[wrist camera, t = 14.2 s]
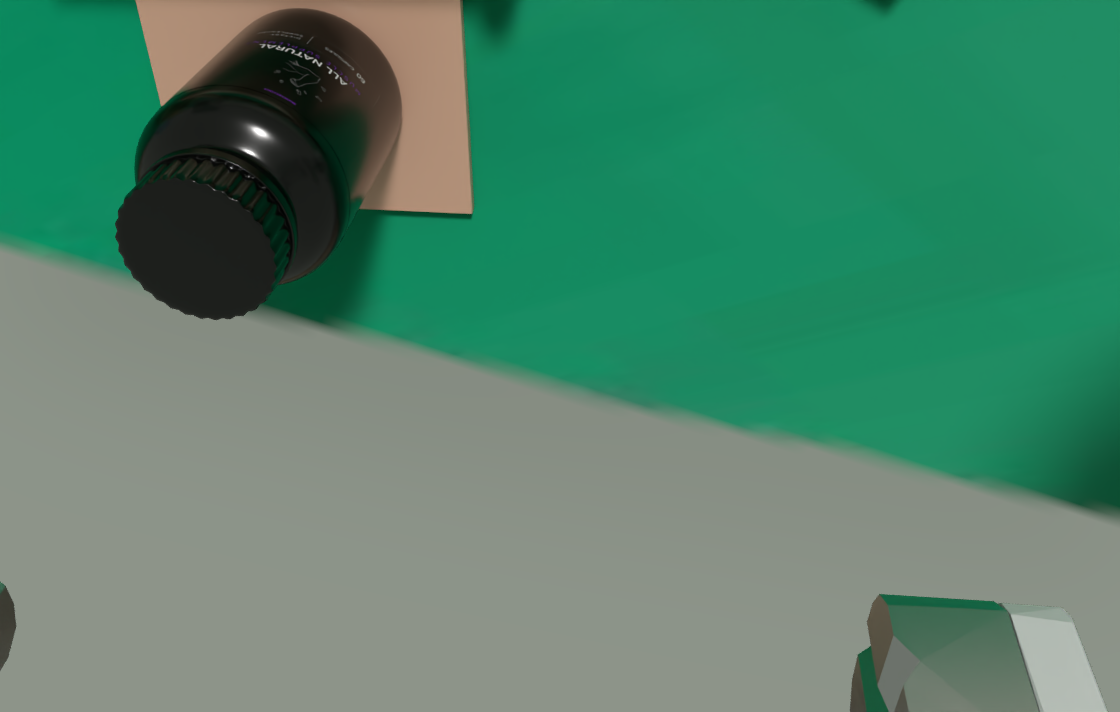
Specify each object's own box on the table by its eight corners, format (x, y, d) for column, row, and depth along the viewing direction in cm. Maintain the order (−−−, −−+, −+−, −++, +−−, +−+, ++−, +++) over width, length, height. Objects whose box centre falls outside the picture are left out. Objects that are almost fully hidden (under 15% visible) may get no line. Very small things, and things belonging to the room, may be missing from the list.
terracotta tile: (460, -46, 36) (457, -42, 36) (474, 207, 42) (472, 213, 42) (129, -55, 37) (123, -51, 36) (189, 195, 43) (184, 201, 42)
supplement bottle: (375, -14, 36) (268, 128, 27) (426, 161, 40) (348, 338, 31) (198, 17, 38) (35, 163, 28) (264, 183, 42) (141, 361, 32)
